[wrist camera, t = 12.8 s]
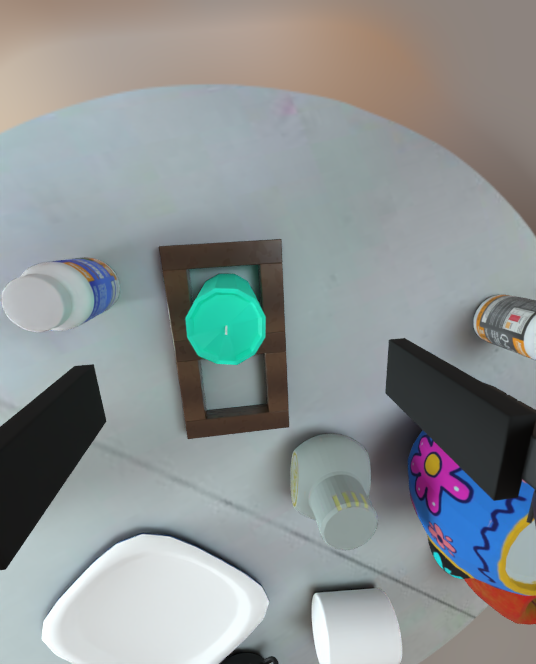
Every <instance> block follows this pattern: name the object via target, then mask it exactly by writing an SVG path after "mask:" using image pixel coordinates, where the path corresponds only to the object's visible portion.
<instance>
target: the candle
mask: <svg viewBox="0 0 536 664" xmlns="http://www.w3.org/2000/svg"><path fill="white" fill-rule="evenodd" d="M185 320H186V331H187V338H188V340H189V341H190V343H191V345H192V346H193V348H194V350H195V351H196V353H197V355H198V356H200V357H202V358H204V359H207V360H209V361H212V362H214V363H216V364H231V365H238V364H240V363H241V362H243V361H245V360H246V359H248V358H250V357H251V356H253V355H255V354H256V352H257V350H258V349H259V347H260V345H261V344H262V342H263V340H264V339H265V329H266V316H265V314H264V312H263V310H262V308H261V306H260V304H259V302H258V300H257V297H256V295H255V293H254V292H253V290H252V288H251V286H250V285H249V283H248V281H246V280H244V279H243V278H241V277H239V276H238V275H236V274H218V275H216V276H214V277H212V278H211V279H209V280H207V281H206V282H205V284H204V286H203V287H202V289H201V291H200V293H199V294H198V296H197V298H196V299H195V301H194V303H193V305H192V307H191V309H190V310H189V312H188V314H187V316H186V318H185Z"/></svg>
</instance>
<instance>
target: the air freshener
mask: <svg viewBox="0 0 536 664" xmlns="http://www.w3.org/2000/svg"><path fill="white" fill-rule="evenodd" d="M370 485H371V467H370V460H369V456H368V453H367V451H366V449H365V448H364V447H363V446H362V445H361V444H360V443H358V442H357V441H355V440H354V439H352V438H350V437H347V436H344V435H340V434H323V435H318V436H315V437H312V438H310V439H308V440H306V441H305V442H303V443H302V444H300V445H299V446H298V447H297V448H296V449H295V450H294V452H293V455H292V461H291V498H292V504H293V507H294V508H295V509H296V510H297V511H298V512H299V513H301V514H302V515H304V516H306V517H308V518H310V519H313V520H316V521H317V524H318V528H319V531H320V534H321V537H322V539H323V540H324V542H325V543H326V544H327V545H329V546H331V547H333V548H335V549H339V550H351V549H355V548H358V547H360V546H362V545H364V544H365V543H367V542H368V541H369V540H370V539H371V538H372V536H373V535H374V533H375V531H376V529H377V525H378V516H377V514H376V512H375V510H374V508H373V506H372V504H371V502H370V500H369V498H368V496H369V492H370Z"/></svg>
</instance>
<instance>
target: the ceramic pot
mask: <svg viewBox="0 0 536 664" xmlns="http://www.w3.org/2000/svg"><path fill="white" fill-rule="evenodd" d="M408 478H409V491H410V497H411V501H412V504H413V506H414V509H415V511H416V513H417V515H418V517H419V519H420V521H421V523H422V525H423V527H424V529H425V530H426V532H427V535H428V541H429V545H430V549H431V552H432V554H433V556H434V558H435V560H436V561H437V563H438V564H439V565H440V566H441V568H442V569H443V570H444V571H446V572H447V573H448V574H450V575H451V576H453V577H456V578H459V579H468V578H475V579H477V580H480V581H482V582H484V583H487V584H489V585H491V586H493V587H495V588H498V589H501V590H505V591H508V592H512V593H516V594H520V595H525V596H536V526H535V519H533V520H532V523H528V522H526V521H527V517H528V513H529V509H530V505H531V501H532V497H533V493H534V489H533V488H532V487H531V486H530V485H529V484H527V483H526V482H525V481H524V480H523V479H522V483H521V487H520V491H519V496H518V498H511V499H504V500H497V501H493V500H492V499H491V498H490V497H489V496H488V495H487V494H486V493H485V492H484V491H483V490H482V489H481V488H480V487H479V486H478V485H477V484H476V483H475V482H474V481H473V480H472V479H471V478H470V477H469V476H468V475H467V474H466V473H465V472H464V471H463V470H462V469H461V468H460V467H459V466H458V465H457V464H456V463H455V462H454V461H453V460H452V459H451V458H450V457H449V456H448V455H447V454H446V453H445V452H444V451H443V450H442V449H441V448H440V447H439V446H438V445H437V444H436V443H435V442H434V441H433V440H432V439H431V438H430V437H429V436H428V435H427V434H426V433H425V432H424V431H422V432H421V433H420V435H419V436H418V438H417V439H416V441H415V442H414V444H413V446H412V449H411V452H410V455H409V458H408Z"/></svg>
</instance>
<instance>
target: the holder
mask: <svg viewBox="0 0 536 664" xmlns="http://www.w3.org/2000/svg"><path fill="white" fill-rule="evenodd" d="M159 251H160V257H161V264H162V270H163V277H164V284H165V291H166V297H167V304H168V311H169V317H170V324H171V331H172V337H173V344H174V351H175V358H176V364H177V371H178V377H179V384H180V391H181V397H182V404H183V411H184V417H185V424H186V430H187V437H188V439H193V438H201V437H210V436H218V435H227V434H235V433H243V432H252V431H260V430H269V429H277V428H286V427H289V411H288V387H287V363H286V338H285V316H284V292H283V268H282V244H281V239H275V240H258V241H241V242H224V243H207V244H190V245H173V246H159ZM256 264H258V268H259V283H260V299H261V308H262V310H263V312H264V314H265V316H266V329H265V339H264V340H263V342H262V344H261V345H260V347H259V349H258V350H257V352H256V354H264V362H265V378H266V394H267V404H262V405H253V406H244V407H234V408H225V409H216V410H207V408H206V401H205V393H204V385H203V377H202V369H201V361H200V359H204V358H202V357H200V356H198V355H197V353H196V351H195V350H194V348H193V346H192V345H191V343H190V341H189V340H188V338H187V331H186V320H185V318H186V316H187V314H188V312H189V310H190V309H191V307H192V305H193V297H192V289H191V281H190V273H189V269H195V268H210V267H225V266H241V265H256Z"/></svg>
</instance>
